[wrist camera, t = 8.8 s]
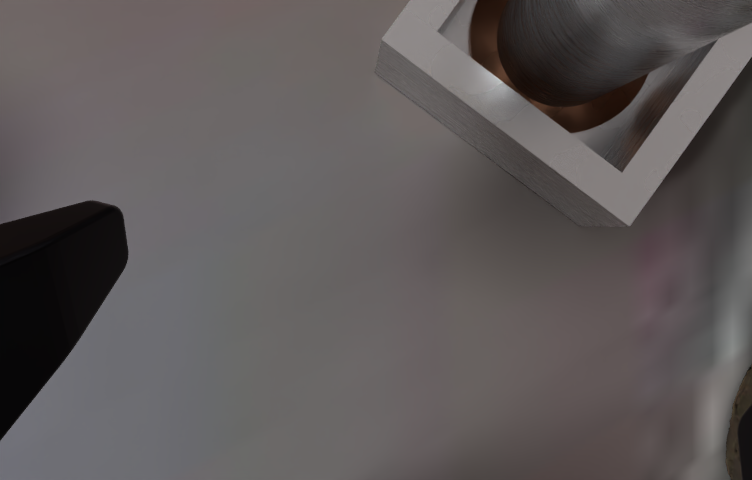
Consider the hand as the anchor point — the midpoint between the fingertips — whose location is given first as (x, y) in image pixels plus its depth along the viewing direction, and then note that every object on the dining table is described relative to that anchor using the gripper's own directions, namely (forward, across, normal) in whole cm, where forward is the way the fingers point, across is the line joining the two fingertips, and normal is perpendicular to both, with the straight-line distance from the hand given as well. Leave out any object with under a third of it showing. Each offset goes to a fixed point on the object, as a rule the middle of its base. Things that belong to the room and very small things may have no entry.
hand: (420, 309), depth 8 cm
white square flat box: (+13, -2, -1) cm, 13 cm away
